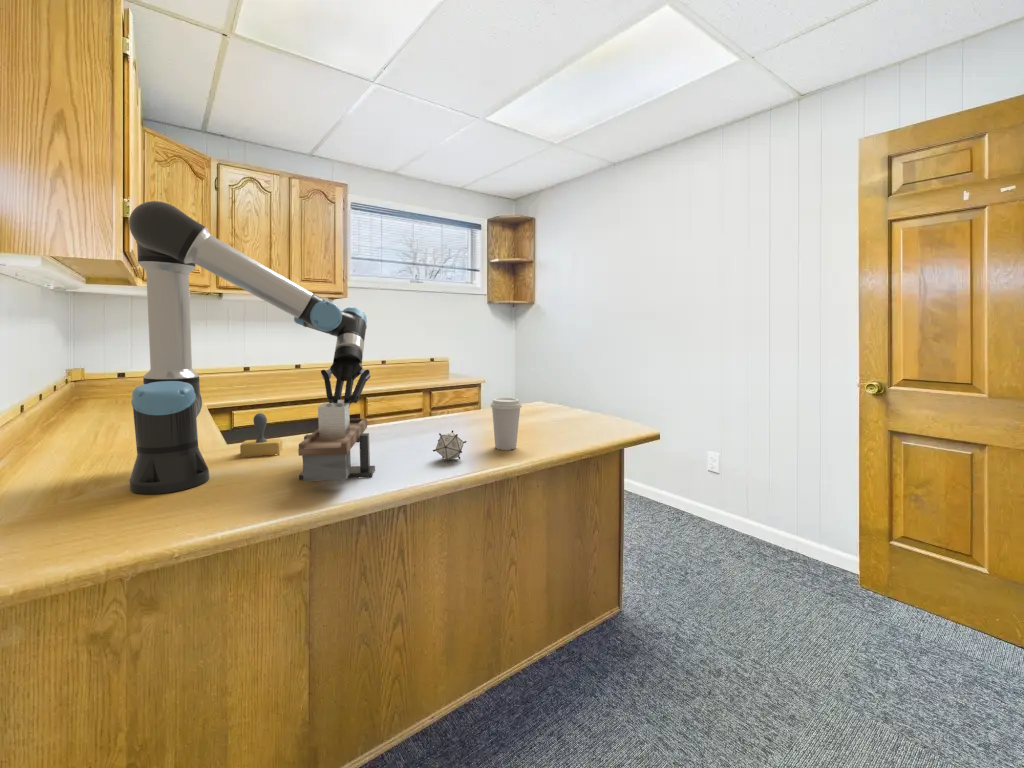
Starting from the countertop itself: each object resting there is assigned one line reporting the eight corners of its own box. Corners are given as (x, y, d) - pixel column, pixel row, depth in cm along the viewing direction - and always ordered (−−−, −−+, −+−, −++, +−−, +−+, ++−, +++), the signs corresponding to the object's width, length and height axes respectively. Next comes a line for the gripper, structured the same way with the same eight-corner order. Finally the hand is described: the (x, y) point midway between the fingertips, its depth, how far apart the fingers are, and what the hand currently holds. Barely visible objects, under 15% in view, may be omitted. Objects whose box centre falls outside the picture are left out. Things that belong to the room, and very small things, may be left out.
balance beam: (329, 449, 134) (328, 419, 133) (368, 448, 136) (367, 418, 135) (298, 482, 105) (297, 444, 104) (348, 480, 106) (347, 443, 105)
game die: (449, 470, 137) (454, 438, 142) (469, 465, 132) (474, 432, 137) (424, 460, 132) (431, 427, 137) (444, 454, 127) (450, 420, 132)
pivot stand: (306, 472, 123) (304, 433, 121) (375, 470, 125) (374, 431, 124) (299, 479, 117) (297, 438, 115) (371, 477, 119) (370, 436, 118)
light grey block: (324, 433, 120) (323, 403, 119) (349, 432, 121) (349, 403, 120) (319, 438, 114) (317, 407, 113) (345, 437, 115) (344, 406, 114)
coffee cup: (526, 446, 151) (527, 399, 149) (510, 453, 143) (510, 403, 141) (501, 442, 156) (501, 396, 154) (484, 448, 148) (484, 400, 146)
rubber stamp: (240, 457, 135) (238, 415, 134) (245, 452, 141) (243, 412, 139) (279, 455, 138) (277, 414, 137) (282, 450, 144) (280, 410, 142)
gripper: (374, 361, 140) (367, 431, 125) (327, 362, 138) (314, 432, 124) (371, 344, 134) (363, 414, 120) (322, 344, 132) (308, 415, 118)
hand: (338, 423), depth 122 cm, fingers closed
